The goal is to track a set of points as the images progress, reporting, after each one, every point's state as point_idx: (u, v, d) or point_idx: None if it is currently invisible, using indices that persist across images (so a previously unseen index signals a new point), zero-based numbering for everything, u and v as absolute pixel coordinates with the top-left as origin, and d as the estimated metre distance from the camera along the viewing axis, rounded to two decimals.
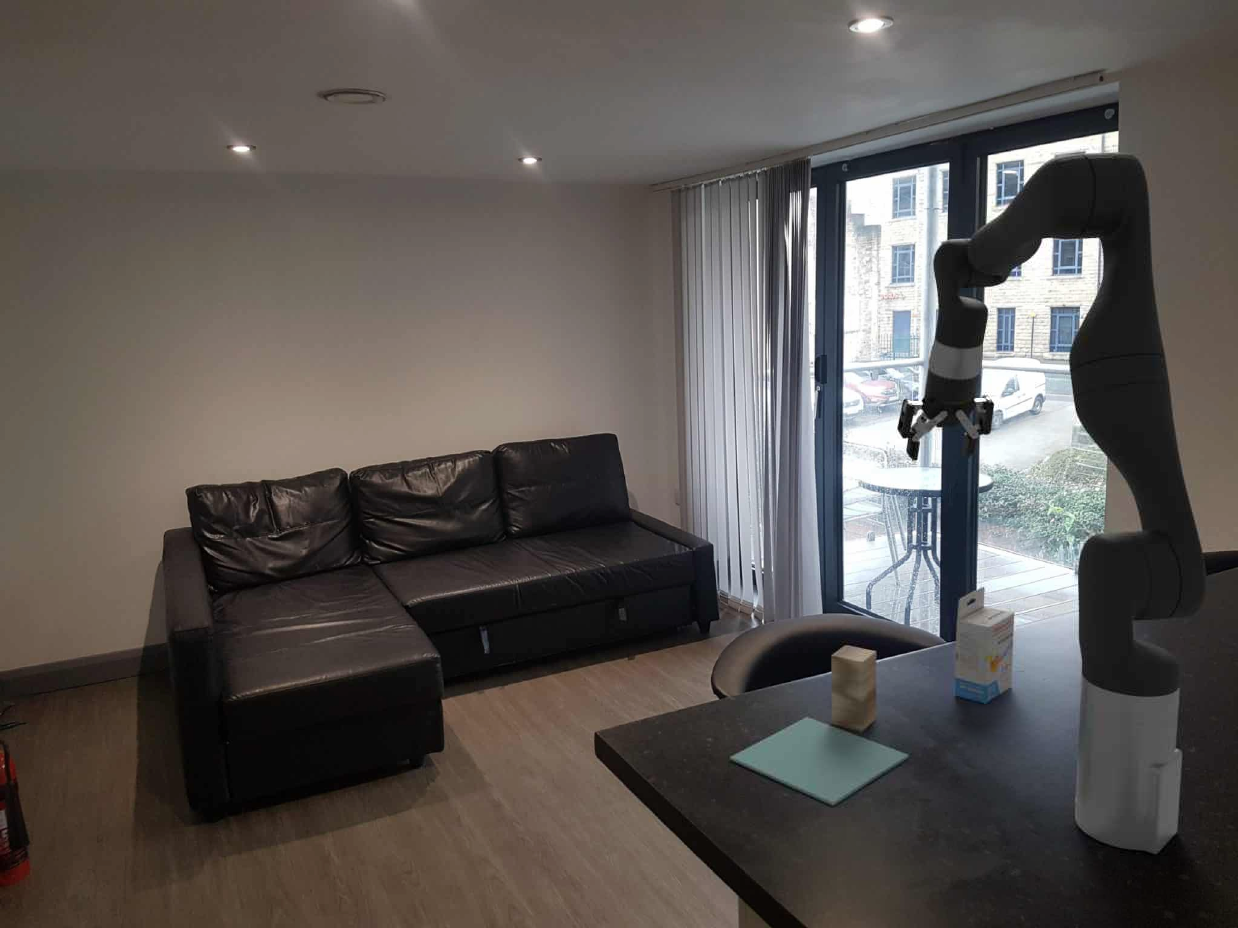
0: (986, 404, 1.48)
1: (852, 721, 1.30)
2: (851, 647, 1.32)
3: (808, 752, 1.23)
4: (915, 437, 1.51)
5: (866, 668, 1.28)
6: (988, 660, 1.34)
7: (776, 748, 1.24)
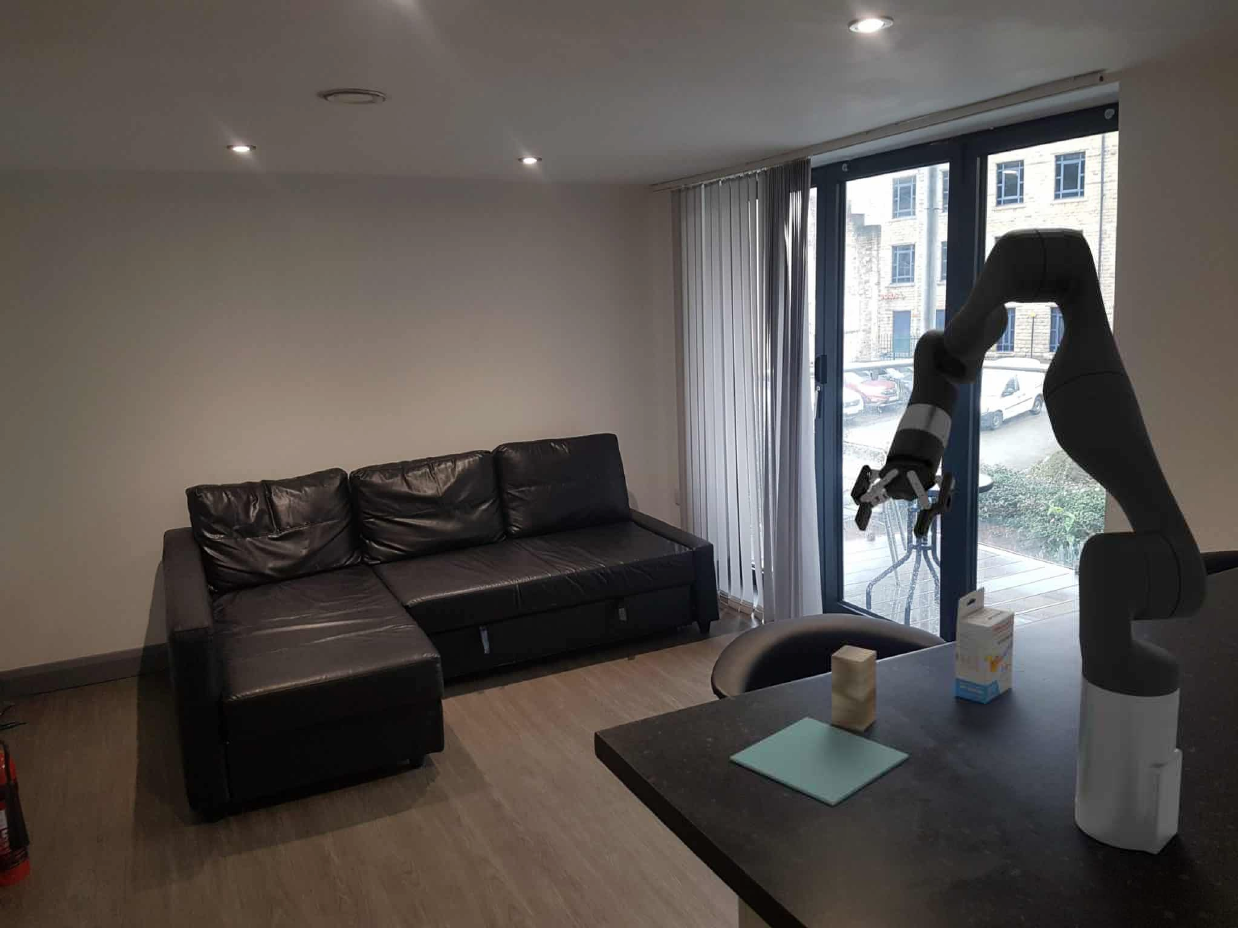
0: (944, 474, 1.36)
1: (852, 721, 1.30)
2: (851, 647, 1.32)
3: (808, 752, 1.23)
4: (863, 497, 1.41)
5: (866, 668, 1.28)
6: (988, 660, 1.34)
7: (776, 748, 1.24)
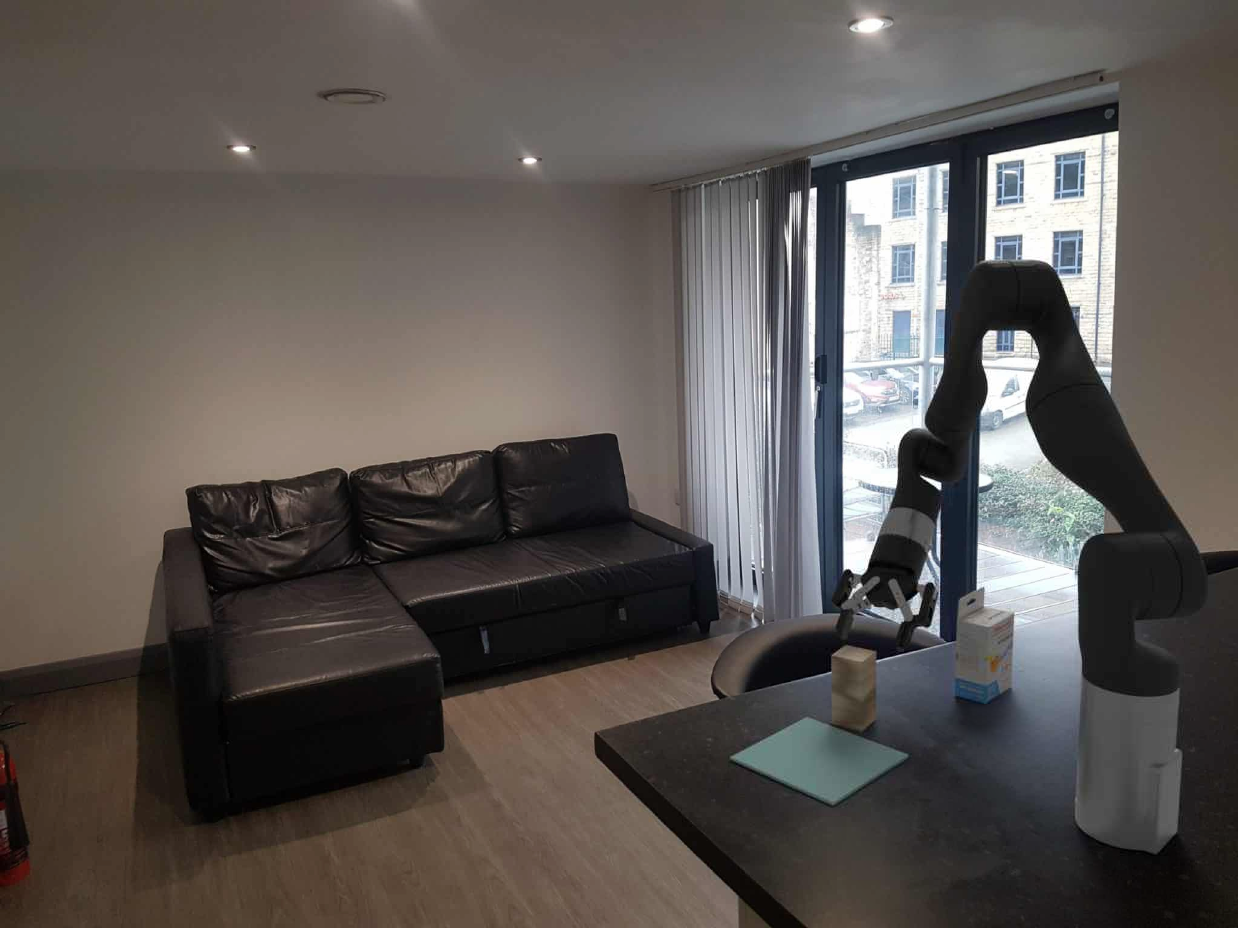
0: (926, 584, 1.34)
1: (852, 721, 1.30)
2: (851, 647, 1.32)
3: (808, 752, 1.23)
4: (844, 604, 1.38)
5: (866, 668, 1.28)
6: (988, 660, 1.34)
7: (776, 748, 1.24)
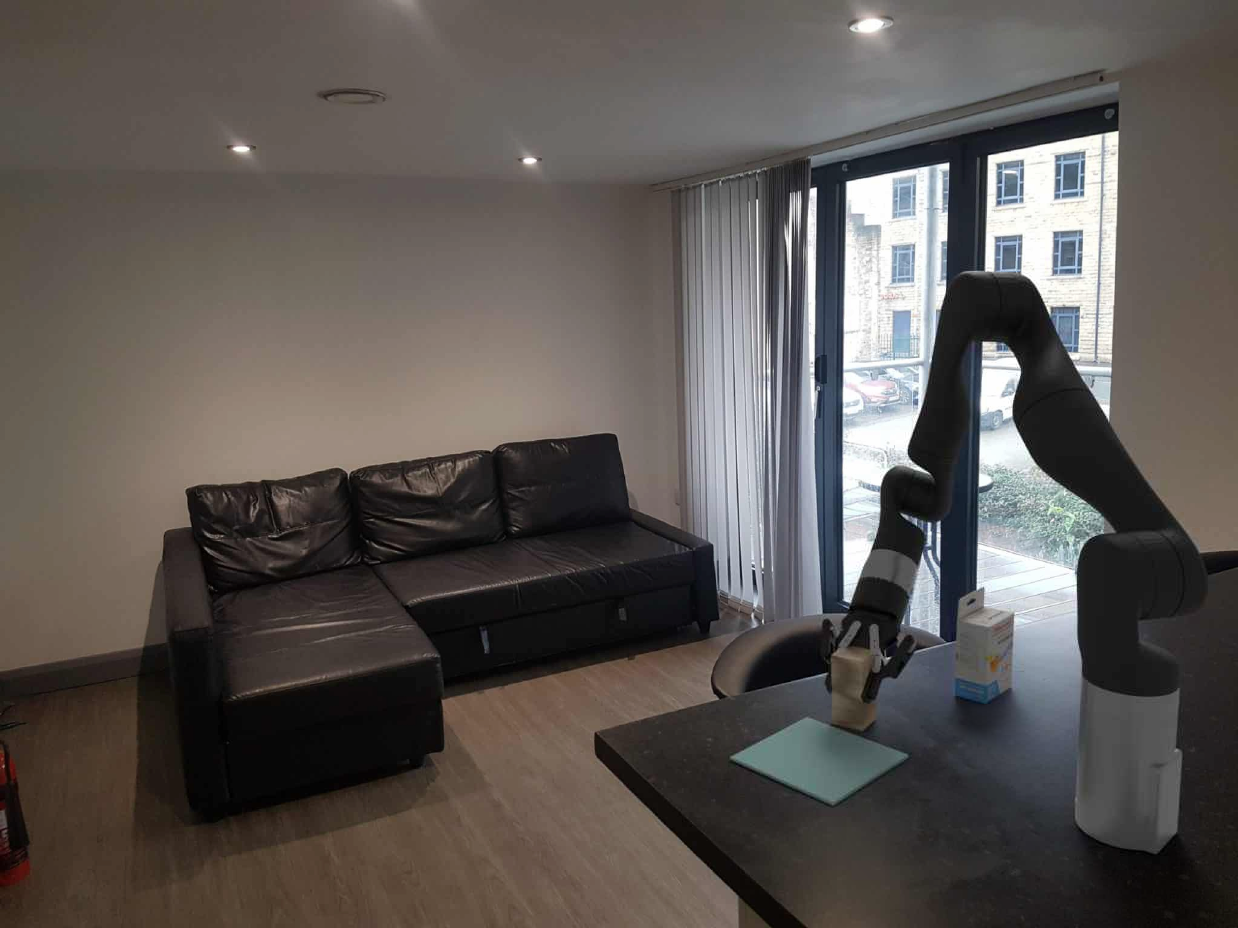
0: (905, 635, 1.30)
1: (852, 721, 1.30)
2: (851, 647, 1.32)
3: (808, 752, 1.23)
4: None
5: (866, 667, 1.28)
6: (988, 660, 1.34)
7: (776, 748, 1.24)
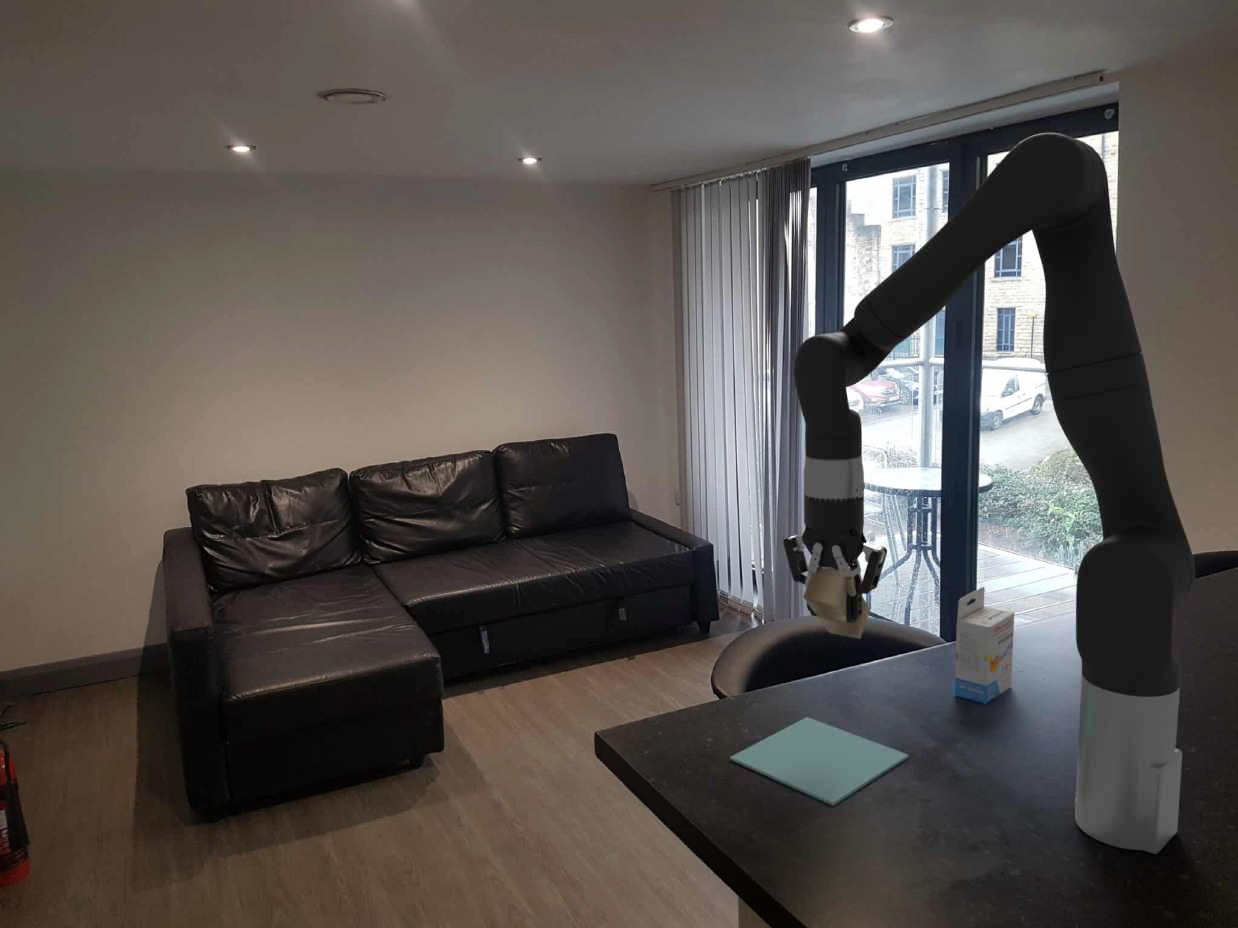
0: (871, 552, 1.18)
1: (847, 633, 1.26)
2: (820, 571, 1.23)
3: (808, 752, 1.23)
4: (807, 582, 1.25)
5: (841, 599, 1.21)
6: (988, 660, 1.34)
7: (776, 748, 1.24)
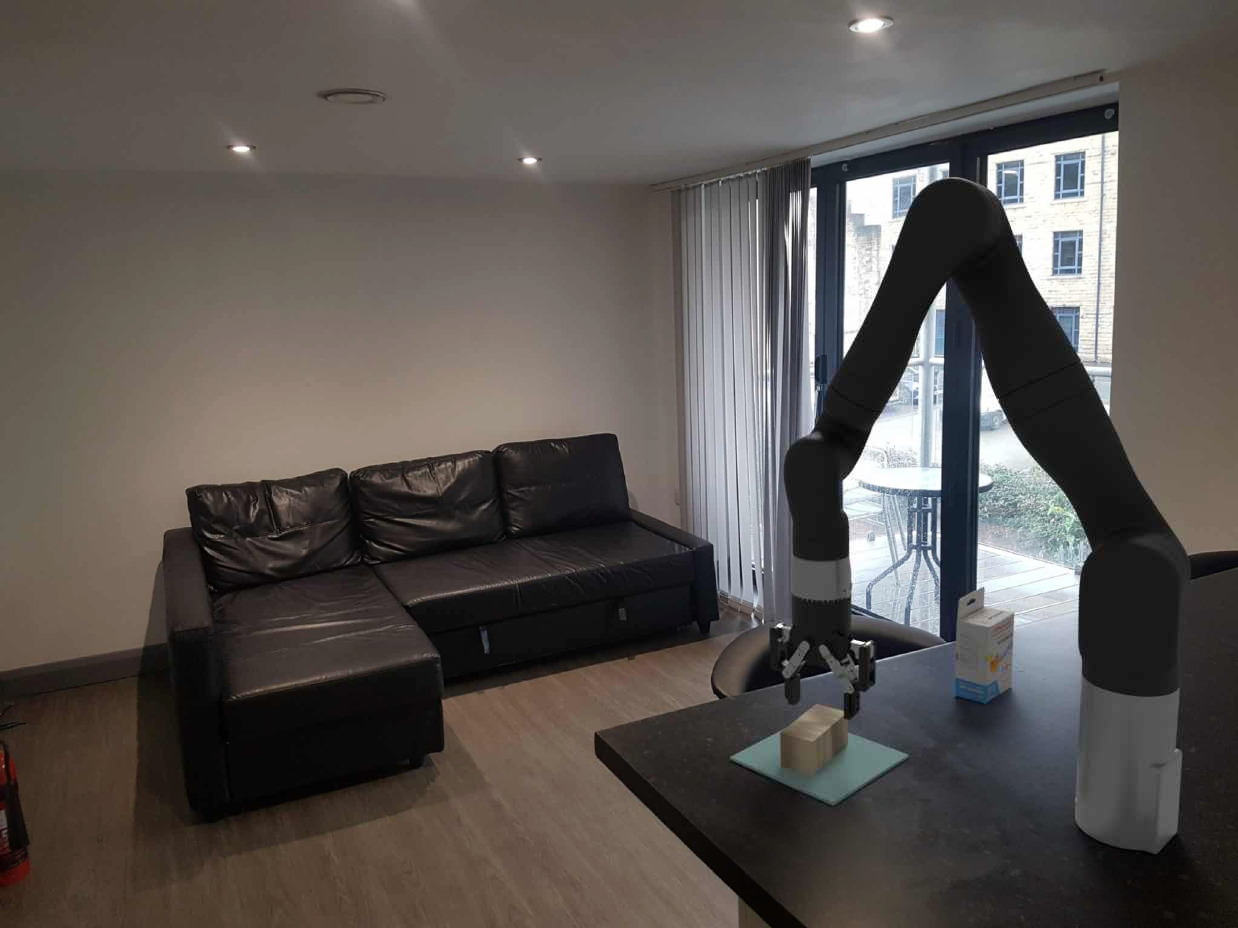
0: (859, 648, 1.17)
1: None
2: (787, 737, 1.19)
3: None
4: (785, 672, 1.24)
5: (817, 762, 1.18)
6: (988, 660, 1.34)
7: (776, 748, 1.24)
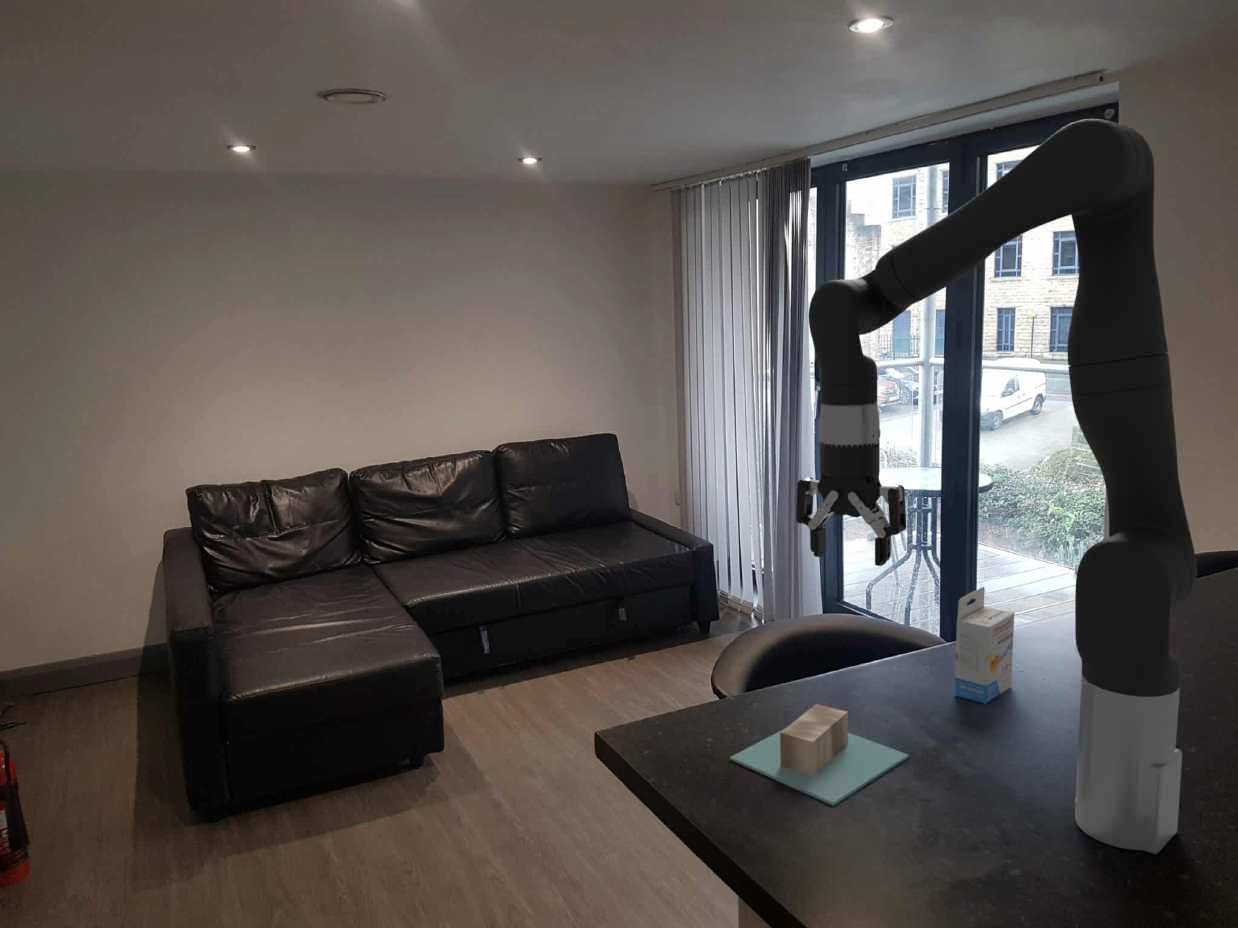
0: (887, 491, 1.18)
1: None
2: (787, 737, 1.19)
3: None
4: (811, 523, 1.26)
5: (817, 762, 1.18)
6: (988, 660, 1.34)
7: (776, 748, 1.24)
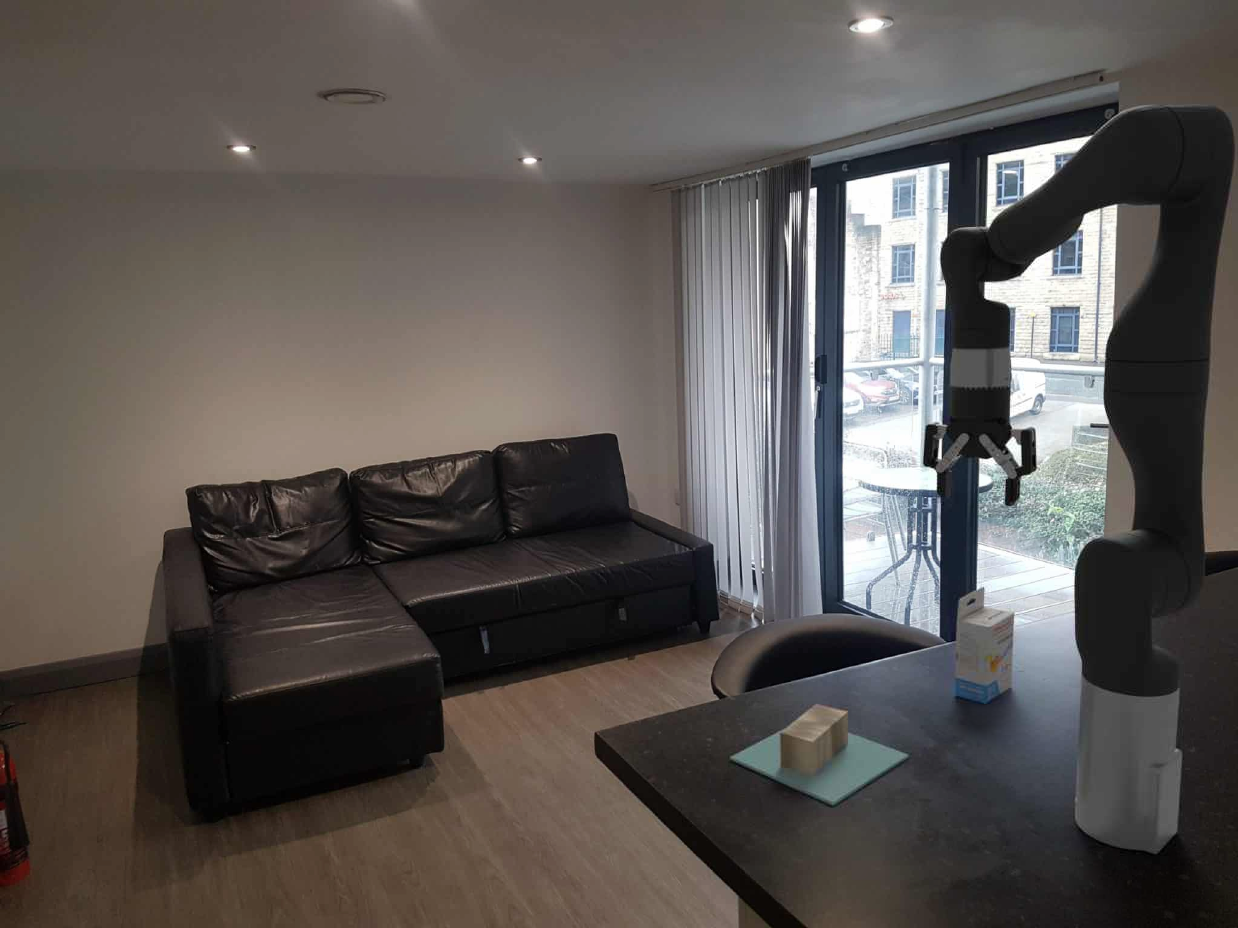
0: (1020, 432, 1.22)
1: None
2: (787, 737, 1.19)
3: None
4: (938, 466, 1.30)
5: (817, 762, 1.18)
6: (988, 660, 1.34)
7: (776, 748, 1.24)
